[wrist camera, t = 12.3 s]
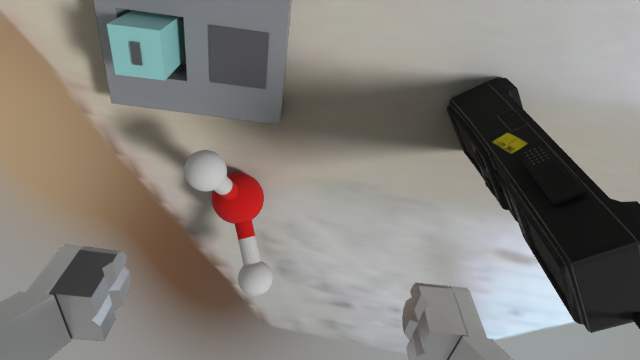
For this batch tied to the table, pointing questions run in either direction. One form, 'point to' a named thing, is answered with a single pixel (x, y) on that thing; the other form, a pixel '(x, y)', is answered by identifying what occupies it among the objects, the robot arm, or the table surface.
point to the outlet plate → (211, 58)
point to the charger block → (147, 44)
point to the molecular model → (233, 211)
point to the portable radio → (554, 206)
